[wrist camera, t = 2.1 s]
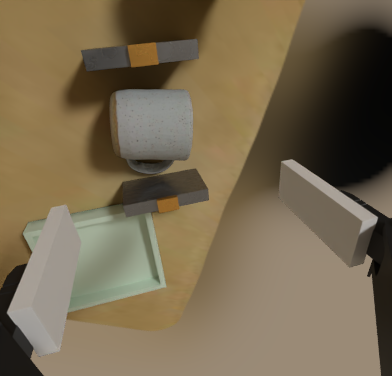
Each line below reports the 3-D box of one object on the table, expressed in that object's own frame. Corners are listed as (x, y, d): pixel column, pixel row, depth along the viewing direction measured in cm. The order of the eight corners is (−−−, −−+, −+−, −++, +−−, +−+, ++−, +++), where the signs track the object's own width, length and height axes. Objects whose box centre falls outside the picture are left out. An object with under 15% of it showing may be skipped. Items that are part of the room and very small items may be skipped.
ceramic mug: (109, 83, 29) (105, 97, 22) (182, 84, 31) (198, 97, 24) (118, 170, 34) (118, 202, 28) (180, 166, 36) (193, 195, 29)
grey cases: (125, 192, 35) (126, 220, 30) (88, 48, 27) (80, 50, 21) (196, 178, 37) (209, 202, 32) (183, 39, 29) (198, 38, 23)
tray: (67, 300, 42) (65, 313, 40) (28, 222, 34) (22, 233, 32) (164, 275, 45) (166, 286, 42) (148, 198, 37) (149, 207, 35)
